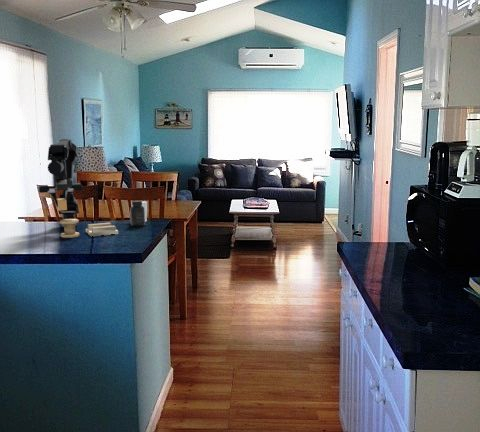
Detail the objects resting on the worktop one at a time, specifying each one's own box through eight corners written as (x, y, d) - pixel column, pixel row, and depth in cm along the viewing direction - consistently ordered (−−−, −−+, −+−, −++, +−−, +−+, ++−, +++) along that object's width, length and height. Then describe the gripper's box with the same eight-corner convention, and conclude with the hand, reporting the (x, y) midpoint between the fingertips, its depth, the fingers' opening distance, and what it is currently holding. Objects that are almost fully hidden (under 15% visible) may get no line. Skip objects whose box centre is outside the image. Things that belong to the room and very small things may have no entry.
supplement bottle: (146, 224, 275) (145, 200, 273) (142, 226, 268) (142, 202, 266) (133, 224, 276) (132, 200, 274) (129, 226, 269) (128, 201, 267)
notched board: (85, 232, 256) (85, 224, 255) (111, 229, 261) (111, 222, 261) (91, 236, 245) (90, 228, 245) (118, 234, 251) (118, 226, 250)
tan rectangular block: (58, 210, 250) (58, 200, 249) (56, 208, 256) (56, 198, 255) (67, 210, 251) (66, 200, 250) (64, 207, 257) (64, 198, 256)
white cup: (132, 220, 286) (132, 201, 284) (148, 220, 287) (147, 200, 285) (131, 223, 278) (130, 203, 277) (147, 222, 279) (146, 203, 277)
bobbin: (59, 235, 249) (58, 219, 248) (77, 233, 253) (76, 218, 251) (62, 238, 242) (61, 222, 241) (81, 236, 245) (80, 221, 244)
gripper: (39, 175, 240) (41, 210, 242) (83, 173, 247) (85, 207, 250) (36, 172, 250) (39, 207, 252) (79, 170, 257) (81, 204, 260)
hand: (61, 206), depth 254 cm, fingers closed on tan rectangular block, 3 cm apart
